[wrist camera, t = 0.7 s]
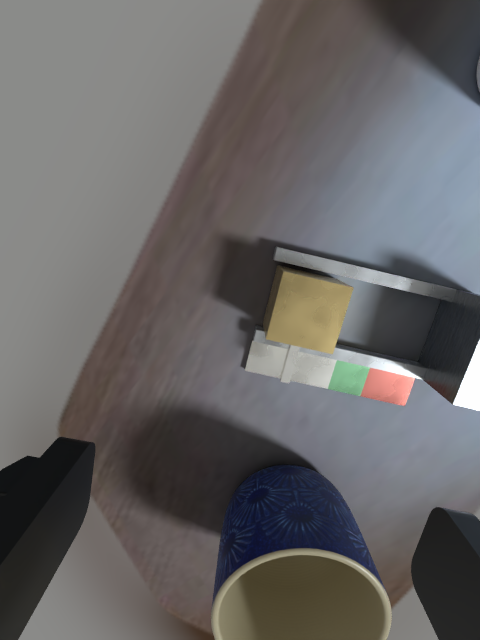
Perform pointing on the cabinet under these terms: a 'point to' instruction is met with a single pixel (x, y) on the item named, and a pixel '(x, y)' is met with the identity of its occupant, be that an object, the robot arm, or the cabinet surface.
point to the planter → (295, 564)
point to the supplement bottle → (478, 74)
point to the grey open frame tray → (379, 369)
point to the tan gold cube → (305, 313)
